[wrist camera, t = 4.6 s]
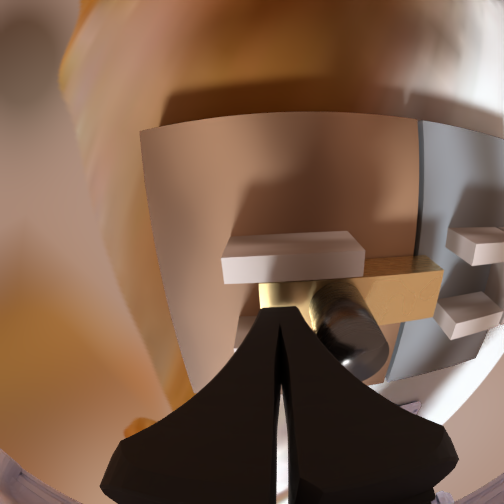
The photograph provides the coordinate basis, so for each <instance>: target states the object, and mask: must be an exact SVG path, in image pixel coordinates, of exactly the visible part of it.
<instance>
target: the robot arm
mask: <svg viewBox="0 0 504 504" xmlns="http://www.w3.org/2000/svg"><path fill="white" fill-rule="evenodd" d="M281 386H282V393H283V401H284V408H285V415H286V423H287V432H288V504H504V473H503V474H501V475H500V476H498V477H497V478H495V479H494V480H492V481H491V482H489V483H487V484H486V485H484V486H483V487H481V488H479V489H478V490H476V491H474V492H472V493H471V494H469V495H467V496H465V497H463V498H462V499H460V500H458V501H456V502H454V500H453V498H452V496H451V494H450V493H447V492H444V491H439V492H437V493H436V496H435V493H434V489H433V487H434V486H435V485H436V484H438V483H439V482H440V481H441V480H443V479H444V478H445V477H446V476H447V475H448V474H449V473H450V472H451V471H452V470H453V469H454V468H455V466H456V464H457V462H458V460H459V458H458V455H457V453H456V451H455V448H454V445H453V443H452V441H451V438H450V437H449V436H448V433H447V432H446V430H445V428H444V426H442V425H439V424H437V423H434V422H432V421H430V420H427V419H425V418H422V417H420V416H418V415H417V413H418V411H419V409H420V407H421V403H420V402H419V401H418V402H414V403H410V404H406V405H402V406H398V405H396V404H394V403H392V402H391V401H389V400H387V399H386V398H384V397H383V396H381V395H380V394H378V393H377V392H375V391H374V390H373V389H371V388H370V387H368V386H367V385H365V384H364V383H363V382H362V381H360V380H359V379H358V378H357V377H355V376H354V375H353V374H352V373H351V372H350V371H349V370H347V369H346V368H345V367H344V366H343V365H342V364H341V363H340V362H339V361H338V360H337V359H336V358H335V357H334V356H333V355H332V354H331V352H330V351H329V350H328V349H327V348H326V347H325V346H324V345H323V343H322V342H321V341H320V340H319V338H318V337H317V336H316V335H315V333H314V332H313V331H312V329H311V328H310V326H309V325H308V324H307V322H306V321H305V319H304V317H303V316H302V314H301V312H300V310H299V308H297V307H296V306H286V307H265V308H261V309H260V310H259V312H258V315H257V317H256V319H255V321H254V323H253V325H252V327H251V329H250V330H249V332H248V334H247V335H246V337H245V339H244V340H243V342H242V343H241V345H240V346H239V348H238V349H237V350H236V352H235V353H234V354H233V356H232V357H231V358H230V360H229V361H228V362H227V363H226V365H225V366H224V367H223V368H222V369H221V370H220V371H219V373H218V374H217V375H216V376H215V377H214V378H213V379H212V380H211V381H210V382H209V383H208V384H207V385H206V386H205V387H203V388H202V389H201V390H200V391H199V392H198V393H197V394H196V395H195V396H193V397H192V398H191V399H190V400H189V401H187V402H186V403H185V404H183V405H182V406H180V407H179V408H178V409H176V410H175V411H173V412H172V413H171V414H169V415H168V416H167V417H165V418H163V419H162V420H160V421H158V422H157V423H155V424H154V425H152V426H150V427H148V428H146V429H144V430H142V431H140V432H138V433H136V434H134V435H132V436H130V437H128V438H126V439H124V440H121V441H120V443H119V445H118V447H117V448H116V450H115V452H114V453H113V455H112V457H111V460H110V462H109V464H108V467H107V469H106V472H105V474H104V477H103V479H102V482H101V484H100V488H101V490H102V491H103V493H104V494H105V495H107V496H108V497H109V498H110V499H112V500H113V501H115V502H116V503H118V504H276V481H277V425H278V415H279V405H280V394H281ZM0 504H82V503H80V502H78V501H76V500H74V499H72V498H70V497H68V496H66V495H64V494H63V493H61V492H59V491H57V490H56V489H53V488H52V487H50V486H49V485H47V484H45V483H44V482H42V481H41V480H39V479H37V478H36V477H34V476H33V475H31V474H30V473H28V472H27V471H26V470H24V469H23V468H22V467H21V466H20V465H19V464H18V463H17V462H16V461H14V460H13V459H12V458H11V457H10V456H9V455H7V454H6V453H5V452H4V451H3V450H1V449H0Z"/></svg>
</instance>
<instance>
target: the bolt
mask: <svg viewBox="0 0 504 504" xmlns="http://www.w3.org/2000/svg"><path fill="white" fill-rule="evenodd" d="M443 273H444V270H443V269H442V268H441V267H440V266H439V265H437V264H436V263H435V262H434V261H432V260H431V259H430V258H429V257H427V256H426V255H417V256H402V257H387V258H372V259H365V262H364V273H363V277H350V278H336V279H320V280H303V281H285V282H264V283H259V297H260V309H261V308H265V307H286V306H296V307H297V308H299V310H300V312H301V314H302V316H303V317H304V319H305V321H306V322H307V324H308V325H309V326H310V328H311V329H312V331H313V332H314V333H315V335H316V336H317V337H318V338H319V340H320V341H321V342H322V343H323V345H324V346H325V347H326V348H327V349H328V350H329V351H330V352H331V354H332V355H333V356H334V357H335V358H336V359H337V360H338V361H339V362H340V363H341V364H342V365H343V366H344V367H345V368H346V369H347V370H349V371H350V372H351V373H352V374H353V375H354V376H355V377H357V378H358V379H359V380H360V381H364V380H366V379H368V378H370V377H372V376H373V375H375V374H376V373H377V372H378V371H379V370H380V369H381V368H382V367H383V366H384V364H385V363H386V361H387V359H388V356H389V345H388V342H387V341H386V339H385V337H384V335H383V333H382V331H381V329H380V327H379V325H387V324H394V323H400V322H407V321H413V320H419V319H425V318H430V317H433V315H434V311H435V308H436V304H437V300H438V296H439V292H440V287H441V283H442V278H443Z"/></svg>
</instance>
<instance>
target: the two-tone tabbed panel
mask: <svg viewBox="0 0 504 504" xmlns="http://www.w3.org/2000/svg"><path fill="white" fill-rule="evenodd" d="M140 141H141V152H142V161H143V170H144V178H145V186H146V193H147V200H148V207H149V213H150V219H151V225H152V231H153V237H154V242H155V247H156V252H157V257H158V262H159V267H160V272H161V276H162V281H163V285H164V290H165V294H166V298H167V302H168V306H169V310H170V314H171V318H172V322H173V326H174V329H175V333H176V336H177V340H178V343H179V347H180V350H181V354H182V357H183V360H184V364H185V367H186V370H187V373H188V376H189V379H190V382H191V385H192V388H193V391H194V393H198V392H199V391H200V390H201V389H202V388H203V387H205V386H206V385H207V384H208V383H209V382H210V381H211V380H212V379H213V378H214V377H215V376H216V375H217V374H218V373H219V371H220V370H221V369H222V368H223V367H224V366H225V365H226V363H227V362H228V361H229V360H230V358H231V357H232V356H233V354H234V353H235V352H236V350H237V349H238V348H239V346H240V345H241V343H242V342H243V340H244V339H245V337H246V335H247V334H248V332H249V330H250V329H251V327H252V325H253V323H254V321H255V319H256V317H257V315H258V312H259V310H260V297H259V283H264V282H285V281H303V280H320V279H336V278H350V277H363V273H364V262H365V259H372V258H387V257H402V256H417V255H426V256H427V257H429V258H430V259H431V260H432V261H434V262H435V263H436V264H437V265H439V266H440V267H441V268H442V269H443V270H444V273H443V278H442V283H441V287H440V292H439V296H438V300H437V304H436V308H435V311H434V315H433V317H430V318H425V319H419V320H413V321H407V322H400V323H394V324H387V325H379V327H380V329H381V331H382V333H383V335H384V337H385V339H386V341H387V342H388V345H389V356H388V359H387V361H386V363H385V364H384V366H383V367H382V368H381V369H380V370H379V371H378V372H377V373H376V374H375V375H373V376H372V377H370V378H368V379H366V380H364V381H362V382H363V383H364V384H365V385H367V386H368V385H373V384H379V383H383V382H384V379H385V377H386V380H387V382H390V381H395V380H399V379H404V378H408V377H413V376H417V375H421V374H425V373H429V372H432V371H436V370H440V369H443V368H446V367H450V366H453V365H456V364H459V363H462V362H465V361H468V360H471V359H474V358H476V356H477V354H478V352H479V350H480V347H481V345H482V343H483V340H484V338H485V336H486V333H487V331H488V329H490V328H494V327H497V326H498V325H499V324H500V325H502V324H504V139H501V138H498V137H494V136H491V135H487V134H484V133H480V132H476V131H473V130H468V129H464V128H460V127H455V126H451V125H446V124H441V123H436V122H430V121H424V120H421V121H417V119H411V118H404V117H396V116H387V115H377V114H364V113H348V112H275V113H258V114H245V115H235V116H225V117H217V118H209V119H202V120H195V121H189V122H183V123H177V124H172V125H166V126H161V127H156V128H152V129H147V130H143V131H140ZM281 394H283V393H282V386H281Z"/></svg>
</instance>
